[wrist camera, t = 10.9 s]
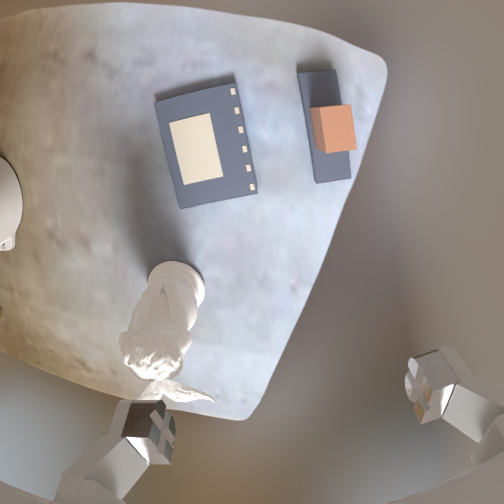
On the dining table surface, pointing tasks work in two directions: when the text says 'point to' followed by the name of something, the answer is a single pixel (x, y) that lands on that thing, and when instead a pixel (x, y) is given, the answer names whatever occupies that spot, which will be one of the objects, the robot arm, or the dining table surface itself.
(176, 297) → the white tall statuette
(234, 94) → the grey notebook
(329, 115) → the stub
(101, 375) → the dining table surface
